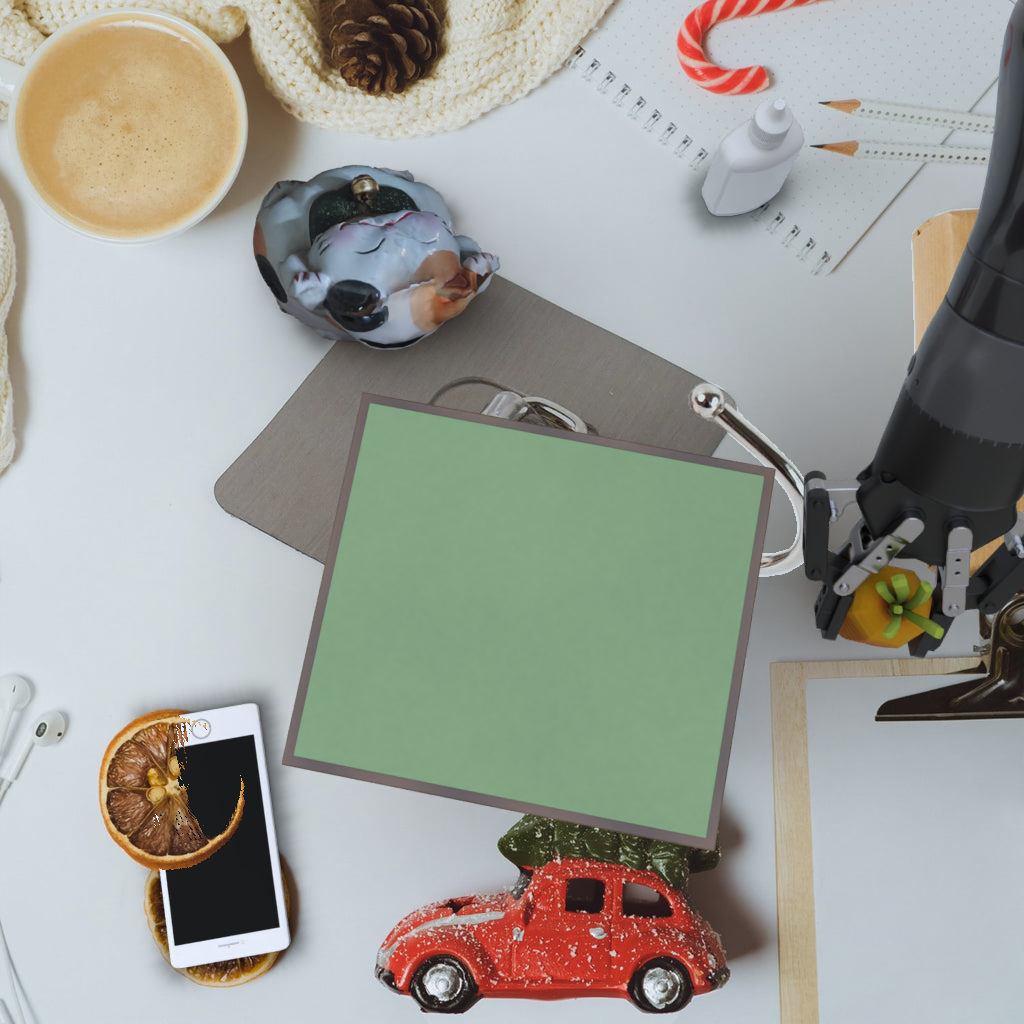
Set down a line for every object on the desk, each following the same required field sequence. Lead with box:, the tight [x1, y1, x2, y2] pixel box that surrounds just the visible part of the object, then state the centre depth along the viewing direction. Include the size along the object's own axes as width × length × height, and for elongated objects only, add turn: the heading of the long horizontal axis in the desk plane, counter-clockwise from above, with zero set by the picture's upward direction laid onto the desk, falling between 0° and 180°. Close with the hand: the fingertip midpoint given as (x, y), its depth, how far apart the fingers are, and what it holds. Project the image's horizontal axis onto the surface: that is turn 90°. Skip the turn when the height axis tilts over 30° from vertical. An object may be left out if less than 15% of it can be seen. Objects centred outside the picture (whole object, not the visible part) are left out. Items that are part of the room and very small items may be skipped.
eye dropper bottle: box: [701, 98, 805, 217], centre depth 69 cm, size 4×6×12 cm
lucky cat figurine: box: [252, 164, 501, 351], centre depth 69 cm, size 15×12×14 cm
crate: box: [281, 391, 777, 852], centre depth 57 cm, size 18×16×28 cm
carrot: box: [838, 564, 944, 649], centre depth 63 cm, size 5×5×15 cm
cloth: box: [294, 403, 764, 838], centre depth 43 cm, size 17×15×1 cm
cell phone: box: [152, 702, 292, 969], centre depth 69 cm, size 8×16×1 cm, turn 10°
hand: (871, 638), depth 62 cm, fingers closed on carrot, 4 cm apart
